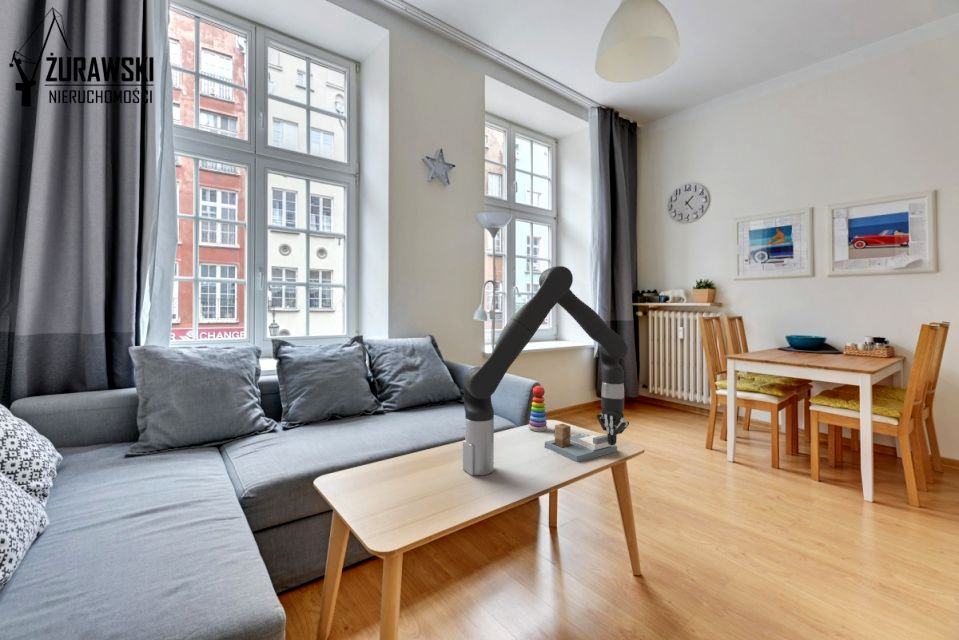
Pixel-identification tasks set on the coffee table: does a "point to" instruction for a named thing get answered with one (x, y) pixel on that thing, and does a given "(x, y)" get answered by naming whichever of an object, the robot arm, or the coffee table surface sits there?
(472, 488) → the coffee table surface
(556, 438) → the walnut post
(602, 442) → the lid
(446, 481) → the coffee table surface
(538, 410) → the stacking toy
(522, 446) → the coffee table surface
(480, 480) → the coffee table surface
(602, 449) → the puzzle board
